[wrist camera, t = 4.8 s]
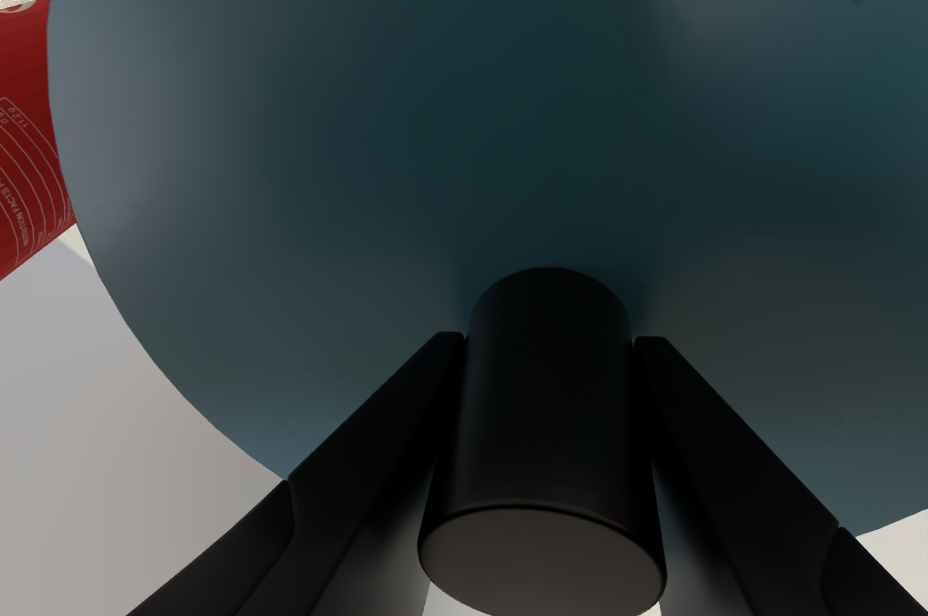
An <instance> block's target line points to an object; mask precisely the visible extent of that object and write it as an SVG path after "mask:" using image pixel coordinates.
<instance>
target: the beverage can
mask: <svg viewBox="0 0 928 616" xmlns="http://www.w3.org/2000/svg"><path fill="white" fill-rule="evenodd" d="M48 9H49V0H34V1H31V2H27V3H23V4H20V5H16V6H13V7H9V8H5V9H2V10H0V281H1V280H2V279H3V278H5V277H6V276H7V275H9V274H10V273H11V272H12V271H14V270H15V269H16V268H18V267H19V266H20V265H22V264H23V263H24V262H25V261H27V260H28V259H29V258H31V257H32V256H33V255H35V254H36V253H37V252H39V251H40V250H41V249H42V248H43V247H45V246H46V245H48V244H49V243H50V242H51V241H53V240H54V239H55V238H57V237H58V236H59V235H61V234H62V233H63V232H65V231H66V230H67V229H69V228H70V227H71V226H72V225H74V224H75V223H76V220H75V217H74V213H73V210H72V207H71V203H70V200H69V197H68V193H67V190H66V187H65V184H64V180H63V177H62V174H61V170H60V167H59V161H58V155H57V149H56V143H55V137H54V131H53V125H52V119H51V113H50V107H49V99H48V68H47V36H46V27H47V18H48Z"/></svg>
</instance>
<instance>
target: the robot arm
mask: <svg viewBox="0 0 928 616" xmlns="http://www.w3.org/2000/svg"><path fill="white" fill-rule="evenodd" d="M464 343H465V338H464V335H463V334H462V333H461V332H457V331H439V332H437V333H436V334H434V335H433V336H432V337H431V338H430V339H429V340H428V341H427V342H426V343H425V344H424V345H423V346H422V347H421V348H420V349H419V350H418V351H417V352H416V353H415V354H414V355H413V356H411V357H410V358H409V359H408V360H407V361H406V362H405V363H404V364H403V365H402V366H401V367H400V368H399V369H398V370H397V371H396V372H395V373H394V374H393V375H392V376H391V377H390V378H389V379H388V380H387V381H385V382H384V383H383V384H382V385H381V386H380V387H379V388H378V389H377V390H376V391H375V392H374V393H373V394H372V395H371V396H370V397H369V398H368V399H367V400H366V401H365V402H364V403H363V404H362V405H361V406H359V407H358V408H357V409H356V410H355V411H354V412H353V413H352V414H351V415H350V416H349V417H348V418H347V419H346V420H345V421H344V422H343V423H342V424H341V425H340V426H339V427H338V428H337V429H336V430H335V431H333V432H332V433H331V434H330V435H329V436H328V437H327V438H326V439H325V440H324V441H323V442H322V443H321V444H320V445H319V446H318V447H317V448H316V449H315V450H314V451H313V452H312V453H311V454H310V455H309V456H307V457H306V458H305V459H304V460H303V461H302V462H301V463H300V464H299V465H298V466H297V467H296V468H295V469H294V470H293V471H292V472H291V473H290V474H289V475H288V476H287V480H288V481H287V480H283V481H281V482H280V483H279V484H278V485H277V486H276V487H275V488H274V489H273V490H272V491H271V492H270V493H269V494H268V495H267V496H266V497H265V498H264V499H262V500H261V502H259V503H258V504H257V505H256V506H255V507H254V508H253V509H252V510H251V511H249V512H248V514H246V515H245V516H244V517H243V518H242V519H241V520H240V521H239V522H237V524H235V525H234V526H233V527H232V528H231V529H230V530H229V531H228V532H226V533H225V534H224V535H223V536H222V537H220V538H219V539H218V540H217V541H216V542H215V543H213V544H212V545H211V546H210V547H209V548H208V549H206V550H205V551H204V552H203V553H202V554H201V555H199V556H198V557H197V558H196V559H195V560H193V561H192V562H191V563H190V564H189V565H187V566H186V567H185V568H184V569H182V570H181V571H180V572H179V573H178V574H177V575H175V576H174V577H173V578H171V579H170V580H169V581H168V582H167V583H165V584H164V585H163V586H162V587H160V588H159V589H158V590H157V591H156V592H154V593H153V594H152V595H151V596H149V597H148V598H147V599H146V600H145V601H143V602H142V603H141V604H140V605H138V606H137V607H136V608H135V609H133V610H132V611H131V612H130V613H129V614H127V615H126V616H422V614H423V610H424V606H425V602H426V598H427V593H428V590H429V586H430V582H431V580H430V579H429V578H428V577H427V575H426V574H425V572H424V571H423V569H422V567H421V565H420V563H419V559H418V553H417V540H418V535H419V531H420V527H421V523H422V519H423V514H424V510H425V506H426V502H427V498H428V493H429V489H430V485H431V481H432V477H433V473H434V468H435V464H436V460H437V456H438V452H439V447H440V443H441V439H442V435H443V431H444V426H445V422H446V418H447V414H448V410H449V405H450V401H451V397H452V393H453V389H454V384H455V380H456V376H457V372H458V368H459V363H460V359H461V355H462V351H463V347H464ZM633 348H634V355H635V361H636V368H637V375H638V381H639V388H640V394H641V401H642V408H643V414H644V421H645V427H646V434H647V441H648V447H649V454H650V460H651V467H652V474H653V480H654V487H655V493H656V500H657V507H658V513H659V520H660V526H661V533H662V539H663V546H664V553H665V559H666V566H667V573H668V578H667V584H666V588H665V590H664V593H663V595H662V597H661V598H660V599H659V604H660V610H661V615H662V616H928V611H927V610H926V609H924V608H923V607H922V606H921V605H920V604H919V603H918V602H917V601H916V600H915V599H914V598H913V597H912V596H911V595H910V594H909V593H908V592H907V591H906V590H905V589H904V588H903V587H902V586H901V585H900V584H899V583H898V582H897V581H896V580H895V579H894V577H893V576H892V575H891V574H890V573H889V572H888V571H887V570H886V569H885V568H884V567H883V566H882V565H881V564H880V563H879V562H878V561H877V560H876V559H875V558H874V557H873V556H872V555H871V554H870V553H869V552H868V551H867V550H866V549H865V548H864V547H863V546H862V545H861V544H860V542H859V541H858V540H857V539H856V538H855V537H854V536H853V535H852V534H851V533H850V532H849V531H848V530H847V529H846V528H845V527H839V528H838V526H839V521H838V520H837V518H836V517H835V516H834V515H833V514H832V513H831V512H830V511H829V510H828V509H827V508H826V507H825V506H824V505H823V504H822V503H821V502H820V500H819V499H818V498H817V497H816V496H815V495H814V494H813V493H812V492H811V491H810V490H809V489H808V488H807V487H806V486H805V485H804V484H803V483H802V481H801V480H800V479H799V478H798V477H797V476H796V475H795V474H794V473H793V472H792V471H791V470H790V469H789V468H788V467H787V466H786V465H785V463H784V462H783V461H782V460H781V459H780V458H779V457H778V456H777V455H776V454H775V453H774V452H773V451H772V450H771V449H770V448H769V447H768V445H767V444H766V443H765V442H764V441H763V440H762V439H761V438H760V437H759V436H758V435H757V434H756V433H755V432H754V431H753V430H752V429H751V427H750V426H749V425H748V424H747V423H746V422H745V421H744V420H743V419H742V418H741V417H740V416H739V415H738V414H737V413H736V412H735V411H734V409H733V408H732V407H731V406H730V405H729V404H728V403H727V402H726V401H725V400H724V399H723V398H722V397H721V396H720V395H719V394H718V393H717V391H716V390H715V389H714V388H713V387H712V386H711V385H710V384H709V383H708V382H707V381H706V380H705V379H704V378H703V377H702V376H701V375H700V373H699V372H698V371H697V370H696V369H695V368H694V367H693V366H692V365H691V364H690V363H689V362H688V361H687V360H686V359H685V358H684V357H683V355H682V354H681V353H680V352H679V351H678V350H677V349H676V348H675V347H674V346H673V345H672V344H671V343H670V342H669V341H668V340H667V339H666V338H664V337H662V336H638V337H637V338H636V339H635V341H634V347H633Z"/></svg>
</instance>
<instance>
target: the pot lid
mask: <svg viewBox="0 0 928 616" xmlns="http://www.w3.org/2000/svg"><path fill="white" fill-rule="evenodd" d="M46 36H47V68H48V99H49V107H50V113H51V119H52V125H53V131H54V137H55V143H56V149H57V155H58V161H59V167H60V170H61V174H62V177H63V180H64V184H65V187H66V190H67V193H68V197H69V200H70V203H71V207H72V210H73V213H74V217H75V220H76V223H77V226H78V229H79V231H80V233H81V235H82V238H83V240H84V242H85V245H86V247H87V249H88V252H89V254H90V256H91V259H92V261H93V263H94V265H95V268H96V270H97V272H98V274H99V277H100V278H101V280H102V282H103V284H104V286H105V287H106V289H107V291H108V293H109V294H110V296H111V298H112V300H113V301H114V303H115V305H116V307H117V308H118V310H119V312H120V314H121V315H122V317H123V319H124V321H125V322H126V324H127V325H128V326H129V328H130V329H131V331H132V332H133V334H134V335H135V336H136V338H137V339H138V341H139V342H140V343H141V345H142V346H143V348H144V349H145V350H146V352H147V353H148V355H149V356H150V357H151V359H152V360H153V362H154V363H155V364H156V365H157V366H158V368H159V369H160V370H161V371H162V372H163V373H164V375H165V376H166V377H167V378H168V379H169V380H170V381H171V383H172V384H173V385H174V386H175V387H176V388H177V390H178V391H179V392H180V393H181V394H182V395H183V397H184V398H185V399H186V400H187V401H189V402H190V403H191V404H192V405H193V406H194V407H195V408H196V409H197V410H198V411H199V412H200V413H201V414H202V415H203V416H204V417H205V418H206V419H207V420H208V421H209V422H210V423H211V424H212V425H213V426H214V427H215V428H216V429H218V430H219V431H220V432H221V433H223V434H224V435H225V436H226V437H227V438H229V439H230V440H231V441H232V442H233V443H235V444H236V445H237V446H238V447H240V448H241V449H242V450H243V451H244V452H246V453H247V454H248V455H249V456H251V457H252V458H254V459H255V460H256V461H258V462H259V463H261V464H262V465H263V466H265V467H266V468H268V469H269V470H271V471H272V472H274V473H275V474H276V475H278V476H279V477H281V478H282V479H284V480H287V476H288V475H289V474H290V473H291V472H292V471H293V470H294V469H295V468H296V467H297V466H298V465H299V464H300V463H301V462H302V461H303V460H304V459H305V458H306V457H307V456H309V455H310V454H311V453H312V452H313V451H314V450H315V449H316V448H317V447H318V446H319V445H320V444H321V443H322V442H323V441H324V440H325V439H326V438H327V437H328V436H329V435H330V434H331V433H332V432H333V431H335V430H336V429H337V428H338V427H339V426H340V425H341V424H342V423H343V422H344V421H345V420H346V419H347V418H348V417H349V416H350V415H351V414H352V413H353V412H354V411H355V410H356V409H357V408H358V407H359V406H361V405H362V404H363V403H364V402H365V401H366V400H367V399H368V398H369V397H370V396H371V395H372V394H373V393H374V392H375V391H376V390H377V389H378V388H379V387H380V386H381V385H382V384H383V383H384V382H385V381H387V380H388V379H389V378H390V377H391V376H392V375H393V374H394V373H395V372H396V371H397V370H398V369H399V368H400V367H401V366H402V365H403V364H404V363H405V362H406V361H407V360H408V359H409V358H410V357H411V356H413V355H414V354H415V353H416V352H417V351H418V350H419V349H420V348H421V347H422V346H423V345H424V344H425V343H426V342H427V341H428V340H429V339H430V338H431V337H432V336H433V335H434V334H436V333H437V332H439V331H457V332H461V333H462V334H463V335H464V338H465V343H464V347H463V351H462V355H461V359H460V363H459V368H458V372H457V376H456V380H455V384H454V389H453V393H452V397H451V401H450V405H449V410H448V414H447V418H446V422H445V426H444V431H443V435H442V439H441V443H440V447H439V452H438V456H437V460H436V464H435V468H434V473H433V477H432V481H431V485H430V489H429V493H428V498H427V502H426V506H425V510H424V514H423V519H422V523H421V527H420V531H419V535H418V540H417V553H418V559H419V563H420V565H421V567H422V569H423V571H424V572H425V574H426V575H427V577H428V578H429V579H430V580H431V581H432V582H433V583H434V584H435V585H436V586H437V587H438V588H439V589H441V590H442V591H443V592H445V593H446V594H447V595H449V596H450V597H452V598H454V599H455V600H457V601H459V602H461V603H463V604H465V605H467V606H469V607H471V608H473V609H476V610H478V611H480V612H483V613H486V614H489V615H492V616H638V615H641V614H642V613H644V612H646V611H647V610H649V609H650V608H651V607H653V606H654V605H655V604H656V603H657V602H658V601H659V599H660V598H661V597H662V595H663V593H664V590H665V588H666V584H667V578H668V573H667V566H666V559H665V553H664V546H663V539H662V533H661V526H660V520H659V513H658V507H657V500H656V493H655V487H654V480H653V474H652V467H651V460H650V454H649V447H648V441H647V434H646V427H645V421H644V414H643V408H642V401H641V394H640V388H639V381H638V375H637V368H636V361H635V355H634V348H633V347H634V341H635V339H636V338H637V337H638V336H662V337H664V338H666V339H667V340H668V341H669V342H670V343H671V344H672V345H673V346H674V347H675V348H676V349H677V350H678V351H679V352H680V353H681V354H682V355H683V357H684V358H685V359H686V360H687V361H688V362H689V363H690V364H691V365H692V366H693V367H694V368H695V369H696V370H697V371H698V372H699V373H700V375H701V376H702V377H703V378H704V379H705V380H706V381H707V382H708V383H709V384H710V385H711V386H712V387H713V388H714V389H715V390H716V391H717V393H718V394H719V395H720V396H721V397H722V398H723V399H724V400H725V401H726V402H727V403H728V404H729V405H730V406H731V407H732V408H733V409H734V411H735V412H736V413H737V414H738V415H739V416H740V417H741V418H742V419H743V420H744V421H745V422H746V423H747V424H748V425H749V426H750V427H751V429H752V430H753V431H754V432H755V433H756V434H757V435H758V436H759V437H760V438H761V439H762V440H763V441H764V442H765V443H766V444H767V445H768V447H769V448H770V449H771V450H772V451H773V452H774V453H775V454H776V455H777V456H778V457H779V458H780V459H781V460H782V461H783V462H784V463H785V465H786V466H787V467H788V468H789V469H790V470H791V471H792V472H793V473H794V474H795V475H796V476H797V477H798V478H799V479H800V480H801V481H802V483H803V484H804V485H805V486H806V487H807V488H808V489H809V490H810V491H811V492H812V493H813V494H814V495H815V496H816V497H817V498H818V499H819V500H820V502H821V503H822V504H823V505H824V506H825V507H826V508H827V509H828V510H829V511H830V512H831V513H832V514H833V515H834V516H835V517H836V518H837V520H838V521H839V526H838V528H839V527H845V528H846V529H847V530H848V531H849V532H850V533H851V534H852V535H853V536H854V537H856V536H859V535H862V534H865V533H868V532H871V531H874V530H877V529H880V528H882V527H884V526H887V525H889V524H892V523H894V522H896V521H899V520H901V519H904V518H906V517H908V516H911V515H913V514H916V513H918V512H920V511H923V510H925V509H928V0H49V9H48V18H47V27H46ZM287 481H288V480H287Z"/></svg>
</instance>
